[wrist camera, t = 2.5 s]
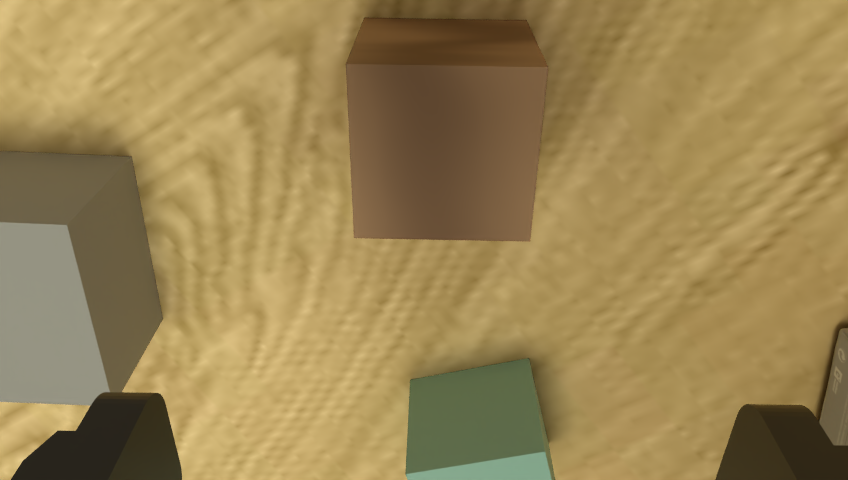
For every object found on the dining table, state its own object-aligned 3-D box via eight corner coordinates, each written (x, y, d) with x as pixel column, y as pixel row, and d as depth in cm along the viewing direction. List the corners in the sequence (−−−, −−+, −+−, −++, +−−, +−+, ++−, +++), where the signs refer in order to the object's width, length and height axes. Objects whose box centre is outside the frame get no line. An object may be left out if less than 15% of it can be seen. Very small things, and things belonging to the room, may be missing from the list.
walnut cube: (526, 19, 21) (548, 67, 17) (513, 167, 24) (530, 241, 20) (364, 17, 21) (346, 63, 17) (369, 165, 24) (354, 238, 20)
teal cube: (528, 356, 28) (545, 451, 24) (548, 441, 31) (566, 541, 26) (410, 378, 29) (405, 474, 25) (438, 459, 31) (438, 559, 27)
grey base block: (133, 154, 24) (67, 224, 20) (164, 316, 28) (113, 406, 23) (-69, 145, 24) (-180, 214, 20) (-12, 309, 28) (-96, 397, 23)
